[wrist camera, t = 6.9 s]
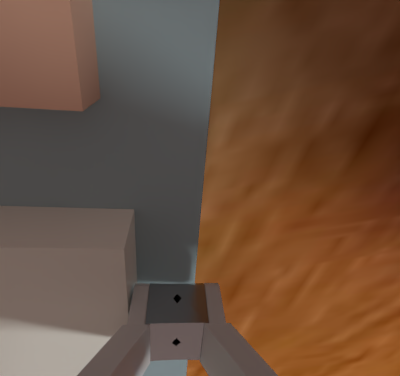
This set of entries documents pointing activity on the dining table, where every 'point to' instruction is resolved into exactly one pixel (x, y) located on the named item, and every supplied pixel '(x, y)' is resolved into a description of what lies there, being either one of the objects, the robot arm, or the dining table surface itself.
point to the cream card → (62, 285)
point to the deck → (129, 136)
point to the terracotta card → (48, 55)
